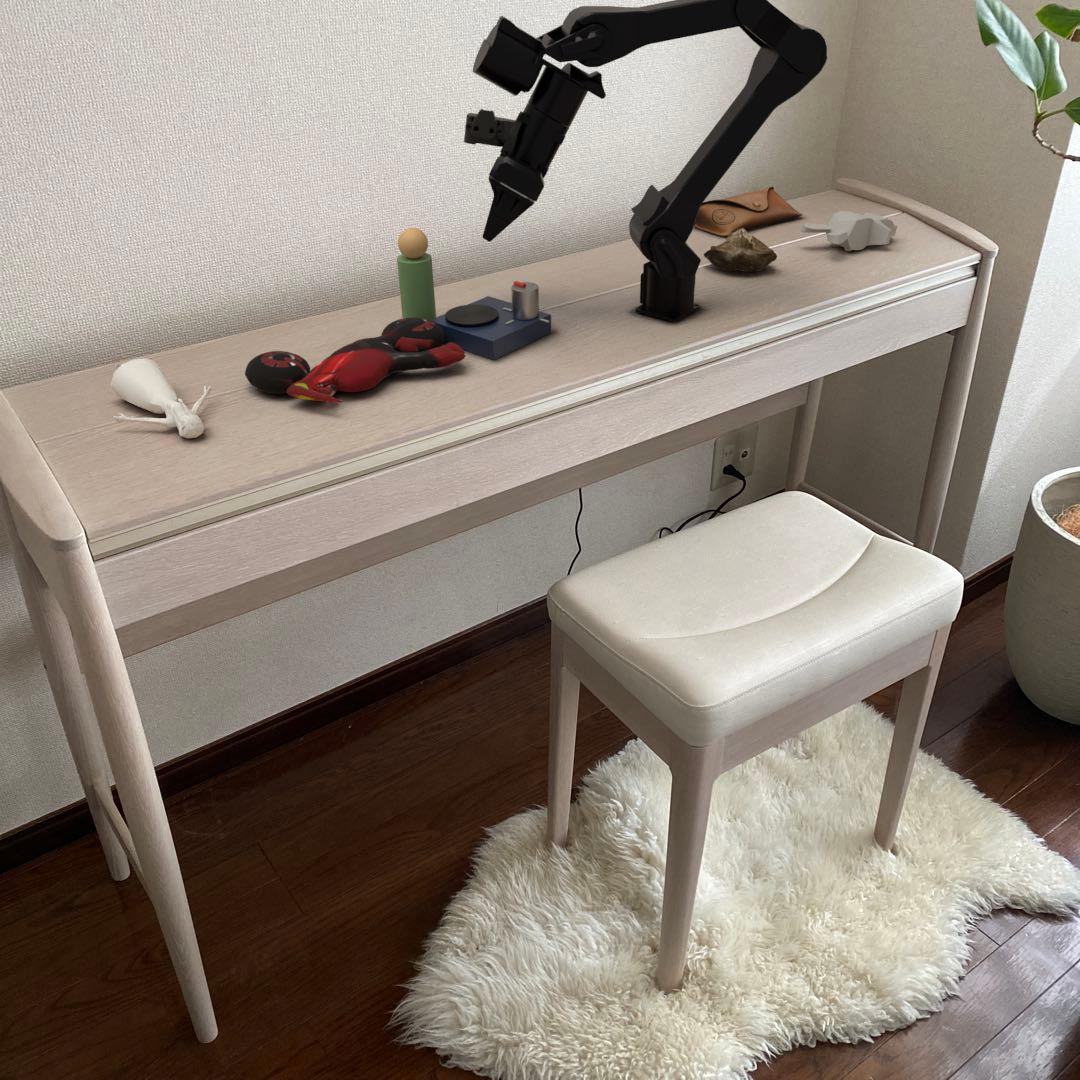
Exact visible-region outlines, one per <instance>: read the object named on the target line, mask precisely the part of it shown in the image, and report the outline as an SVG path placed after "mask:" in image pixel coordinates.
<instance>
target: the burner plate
mask: <svg viewBox="0 0 1080 1080" xmlns="http://www.w3.org/2000/svg"><path fill="white" fill-rule="evenodd" d="M498 318H499V313H498V311H497V310H496V309H495V308H493V307H490V306H486V305H476V304H473V305H468V304H464V305H463V304H462V305H459V306H455V307H452V308H450V309H449V310H447V311H446V312H445V320H446V322H447V323H449V324H451V325H453V326H457V327H464V328H475V327H482V326H486V325H490V324H492V323H494V322H495V321H497V320H498Z"/></svg>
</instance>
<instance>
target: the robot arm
mask: <svg viewBox="0 0 1080 1080" xmlns="http://www.w3.org/2000/svg"><path fill="white" fill-rule="evenodd" d="M734 28H740V30H742V31H743V32H744V33H745V35H746V36H747V37H748V38H749V39H750V40H751V41H753V42H754V43H755V44H756V45H757V46H758V47H759V49H758V51H757V53H756V55H755V57H754V58H753V61H752V65H751V68H750V71H749V74H748V77H747V80H746V83H745V85H744V87H743V88H742V89H741V91H740V92H739V93H738V95H737V96H736V97H735V99H734V100H733V101H732V103H731V104H730V106H728V108H727V109H726V111H725V112H724V113H723V115H722V116H721V117H720V119H719V120H718V121H717V122H716V124H715V126H714V127H712V129H711V131H710V132H709V133H708V135H707V136H706V137H705V139H704V140H703V141H702V143H700V146H698V147H697V150H695V151H694V153H693V155H692V156H691V157H690V158H689V160H688V161H687V163H686V164H685V165H684V166H683V167H682V169H681V170H680V172H679V173H678V175H677V176H676V177H675V179H674V180H673V181H672V182H671V183H669V184H668V185H666V186H665V187H663V188H662V189H660V190H658V189H657V188H656V186H654V184H651V185H650V186H648V188H647V189H646V191H645V193H644V195H643V197H642V199H641V200H640V201H639V202H638V203H637V204H636V205H634V206H633V207H632V208H631V209H630V210H631V212H632V213H633V214H632V215H631V218H630V220H629V223H628V229H629V236H630V238H631V241H632V242H633V243H634V245H635V246H636V247H637V249H638V250H639V251H640V253H641V254H642V255H643V256H644V258H645V259H646V260H648V261H647V262H645V263H643V266H642V267H643V268H642V273H641V274H640V283H639V284H640V286H639V303H640V305H638V306H636V307H635V308H634V312H635V313H639V314H642V315H645V316H649V317H652V318H655V319H660V320H663V321H667V322H671V323H675V322H678V321H680V320H682V319H683V318H685V317H687V316H689V315H691V314H693V313H695V312H697V311H699V310H700V309H701V305H700V304H699V303H695V291H696V290H695V288H696V274H697V271H698V269H699V267H700V264H701V262H702V259H701V258H700V257H699V255H698V254H697V253H696V252H695V251H694V250H693V248H691V246H690V245H689V244H688V243H687V241H688V240H689V238H690V236H691V234H692V232H693V230H694V227H695V226H694V224H695V221H696V218H697V215H698V212H699V209H700V206H701V205H702V203H703V202H705V200H706V199H707V198H708V197H709V195H710V194H711V193H712V191H713V190H714V189H715V187H716V186H717V185H718V183H719V182H720V181H721V179H722V178H723V177H724V176H725V175H726V173H727V172H728V170H729V169H730V168H731V167H732V166H733V164H734V163H735V161H736V160H737V159H738V158H739V156H740V155H741V153H742V152H743V151H744V150H745V149H746V147H747V146H748V144H749V143H750V142H751V140H752V139H753V138H754V137H755V136H756V134H757V133H758V131H759V130H760V129H761V128H762V127H763V125H764V124H765V123H766V121H767V120H768V118H769V117H770V116H771V114H772V113H773V112H774V111H775V110H776V109H777V108H778V107H779V106H781V105H782V104H784V103H786V102H787V101H788V100H790V99H792V98H793V97H794V96H796V95H798V94H799V93H800V92H801V91H803V89H805V87H807V86H808V85H809V84H810V83H811V82H812V81H813V80H814V79H815V78H816V77H817V76H818V75H819V74H820V73H821V72H822V70H823V69H824V67H825V65H826V63H827V60H828V45H827V42H826V39H825V37H824V36H823V35H822V34H821V33H820V32H818V31H817V30H816V29H814V28H810V27H808V26H805V25H803V24H801V23H799V22H794V20H792V19H791V18H789V16H787V15H786V14H785V13H783V12H782V11H781V10H779V9H778V8H777V7H776V6H774V4H772V3H771V2H770V1H768V0H669V1H664V2H658V3H653V4H648V5H644V6H643V5H642V6H633V7H630V6H616V5H615V6H613V5H581V6H578V7H576V8H574V9H572V10H571V11H569V12H568V14H567V15H566V16H565V19H564V20H563V22H562V24H561V25H558V26H557V27H555V28H553V29H551V30H549V31H547V32H545V33H543V34H542V35H539V36H538V37H535V36H533V35H532V34H530V33H528V32H526V31H525V30H523V29H521V27H518V26H517V25H516V24H515V23H513V21H511V20H510V19H508V18H506V16H504V15H501V16H499V18H498V20H497V22H496V24H495V25H494V26H493V27H492V29H491V30H490V31H489V33H488V35H487V37H486V38H484V39H483V41H482V43H481V45H480V46H479V49H478V51H477V54H476V57H475V59H474V62H473V66H472V73H474V74H475V75H477V76H478V77H481V78H483V80H486V81H487V82H489V83H491V84H493V85H495V86H496V87H497V88H500V89H502V90H503V91H505V92H507V93H509V94H510V95H512V96H514V97H517V96H518V95H519V94H521V92H522V93H523V94H525V93H529V92H530V91H531V90H532V89H533V91H532V93H531V95H530V96H529V99H528V101H527V103H526V105H525V106H524V109H523V111H520V112H519V113H518V115H517V117H516V119H510V118H505V117H500V116H496V115H495V112H494V110H487V109H484V108H481V109H479V111H478V112H477V113H474V112H469V113H467V114H466V118H465V119H466V120H465V127H464V129H465V130H464V136H463V137H464V138H463V143H465V144H470V145H476V144H480V145H485V146H493V147H499V148H500V151H499V153H500V154H499V155H498V156H497V157H496V159H495V161H494V163H493V165H492V167H491V169H490V172H489V174H488V182H489V184H490V187H491V190H492V193H493V197H492V198H493V199H492V201H491V205H490V208H489V212H488V215H487V219H486V221H485V222H486V223H485V226H484V230H483V233H482V239H484V240H485V241H487V242H488V243H489V242H492V241H493V240H494V239H495V238H496V237H497V236H499V235H500V234H501V233H502V232H503V231H505V229H506V228H508V226H510V225H511V224H512V223H514V221H516V220H517V219H518V218H519V217H520V216H522V215H523V214H524V213H525V212H526V211H527V210H528V209H530V208H531V207H533V205H534V204H535V202H537V201H538V199H539V198H540V196H541V194H542V192H543V190H544V188H545V177H546V175H547V173H548V172H549V169H550V166H551V165H552V162H553V160H554V158H555V156H557V155H556V154H557V153H558V150H559V149H560V147H561V146H562V144H563V142H564V140H565V138H566V136H567V133H568V131H569V129H570V127H571V125H572V123H573V121H574V119H575V118H576V116H577V114H578V113H579V110H580V108H581V107H582V104H583V102H584V100H585V98H586V96H587V95H588V93H591V94H593V95H594V96H595V97H598V98H599V99H601V100H603V99H605V98H606V96H607V93H606V92H605V89H604V86H603V85H604V84H603V74H602V73H601V72H599V71H597V70H595V71H593V72H590V73H587V72H586V71H584V70H583V69H582V68H580V67H578V66H576V65H574V64H573V63H572V62H575V61H577V62H578V63H579V64H580V65H582V66H583V67H586V68H599V67H601V66H604V65H606V64H610V63H613V62H615V61H617V60H620V59H621V58H624V57H626V56H628V55H630V54H632V53H633V52H635V51H636V50H638V49H641V48H643V47H646V46H648V45H652V44H657V43H662V42H667V41H672V40H678V39H683V38H687V37H693V36H697V35H702V34H703V35H704V34H707V33H712V32H713V33H714V32H718V31H723V30H727V29H734ZM545 55H546V56H548V57H549V58H552V60H555V61H556V62H558V63H566V64H564V65H563V66H562V68H560V67H558V66H557V65H555V64H553V63H552V62H550V61H548V60H547V59H545V58H544V56H545ZM570 62H571V63H570ZM543 67H544V68H543ZM542 69H543V71H542ZM541 71H542V73H541ZM540 73H541V75H540ZM539 76H540V77H539ZM536 82H537V83H536ZM535 83H536V85H535ZM534 85H535V87H534ZM533 87H534V88H533Z"/></svg>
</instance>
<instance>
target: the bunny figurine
mask: <svg viewBox="0 0 1080 1080" xmlns="http://www.w3.org/2000/svg"><path fill="white" fill-rule="evenodd" d="M897 230H898V225H896V224H894V221H893V220H891V219H889V218H887V217H883V216H880V215H878V214H875V213H871V212H865V213H864V214H860V213H857V212H853V211H850V210H840V211H836V212H834V213H833V215H832V216H831V219H830V221H829V223H828V224H821V223H820V224H819V223H807V222H806V223H804V224H802V226H801V229H800V231H799V232H800V233H806V234H811V233H812V234H813V233H817V234H818V233H824V234H825V236H826V238H827V241H828V243H831V246H832V247H834V248H837V247H843V248H844V251H846V252H851V251H861V250H864V249H865V248H866V247H868V246H885V245H889V244H890V242H891V238H893V237H895V236H896V234H897Z"/></svg>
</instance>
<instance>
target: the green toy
mask: <svg viewBox="0 0 1080 1080" xmlns="http://www.w3.org/2000/svg"><path fill="white" fill-rule="evenodd" d="M397 247H398V250H399V252H400V253H401V254H399V255H398V256H397V257H396V263H397V274H398V275H397V276H398V284H399V294H400V306H401V316H402V319H403V318H411V317H416V318H425V319H429V320H432V319H434V318H437V308H436V307H437V306H436V297H435V283H434V270H433V259H432V257H433V256H432V255H431V254H430V253H428V252H427V250H428V248H429V239H428V237H427V235H426V233H425V232H424V231H423V230H421V229H420V228H417V227H408V228H406V229H404V230H403V231H401V233H400V234H399V235H398V237H397Z"/></svg>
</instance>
